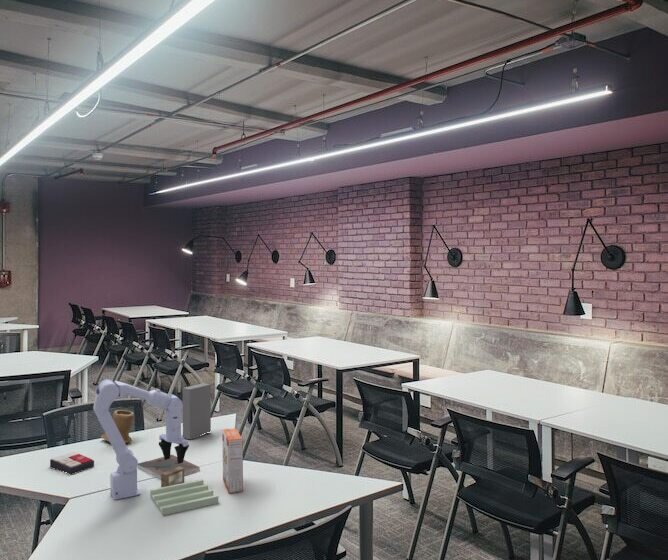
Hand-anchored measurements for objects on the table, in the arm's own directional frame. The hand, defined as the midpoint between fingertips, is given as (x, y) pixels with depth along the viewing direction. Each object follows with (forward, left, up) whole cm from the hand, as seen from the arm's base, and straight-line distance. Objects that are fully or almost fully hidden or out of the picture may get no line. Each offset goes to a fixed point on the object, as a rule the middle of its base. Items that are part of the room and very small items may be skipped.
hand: (173, 460), depth 227 cm
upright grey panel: (+26, +55, -10) cm, 62 cm away
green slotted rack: (-1, -16, -10) cm, 18 cm away
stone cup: (-8, +65, -10) cm, 66 cm away
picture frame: (+2, +18, -10) cm, 21 cm away
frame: (-1, -1, -10) cm, 10 cm away
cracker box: (+19, -13, -10) cm, 25 cm away
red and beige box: (-32, +40, -10) cm, 53 cm away
